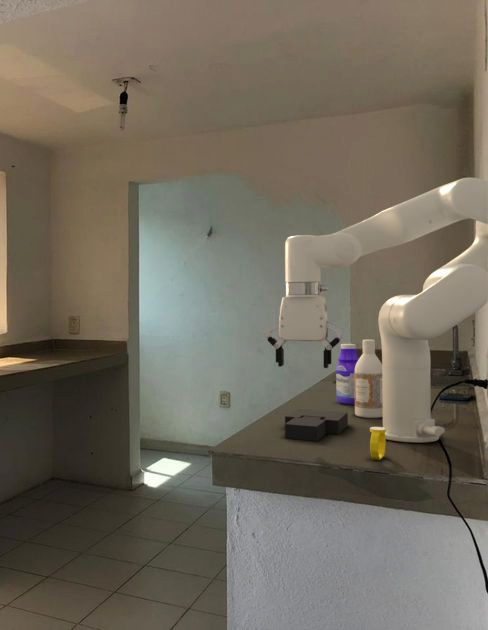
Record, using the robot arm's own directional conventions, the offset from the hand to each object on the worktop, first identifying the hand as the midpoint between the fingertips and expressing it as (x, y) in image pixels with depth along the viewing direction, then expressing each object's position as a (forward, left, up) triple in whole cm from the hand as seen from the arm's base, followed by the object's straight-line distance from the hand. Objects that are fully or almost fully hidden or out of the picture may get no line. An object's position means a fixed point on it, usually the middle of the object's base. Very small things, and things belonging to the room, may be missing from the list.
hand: (303, 366), depth 146 cm
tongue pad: (+2, -2, -16) cm, 16 cm away
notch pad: (+8, -10, -16) cm, 20 cm away
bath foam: (+14, -32, -16) cm, 38 cm away
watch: (-21, 0, -16) cm, 27 cm away
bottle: (+32, -42, -16) cm, 55 cm away
